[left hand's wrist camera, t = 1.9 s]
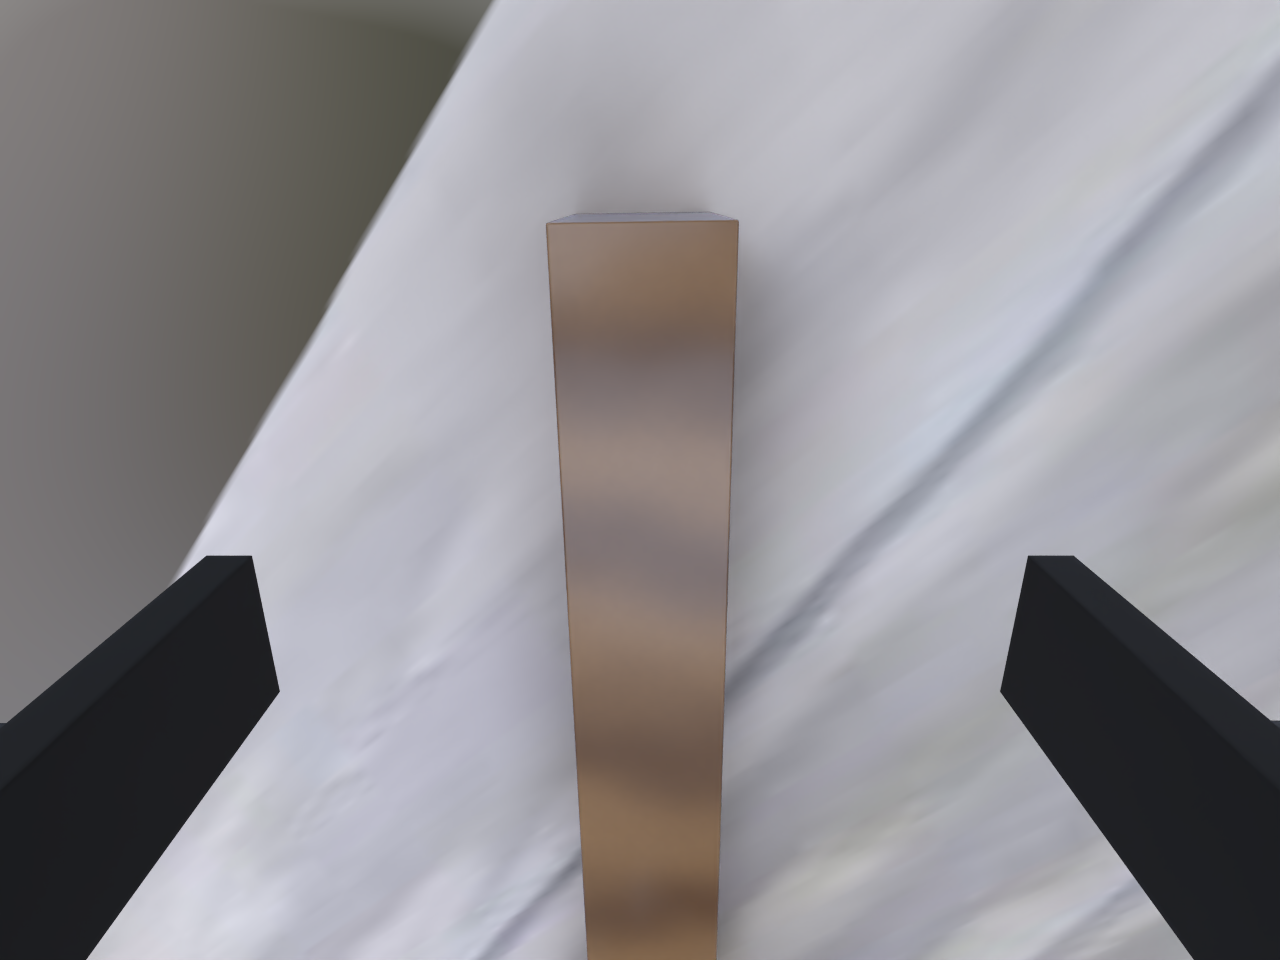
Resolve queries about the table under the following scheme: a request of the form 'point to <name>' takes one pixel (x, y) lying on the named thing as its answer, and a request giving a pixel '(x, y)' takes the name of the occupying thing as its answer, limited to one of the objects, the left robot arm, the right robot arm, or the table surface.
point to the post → (646, 562)
